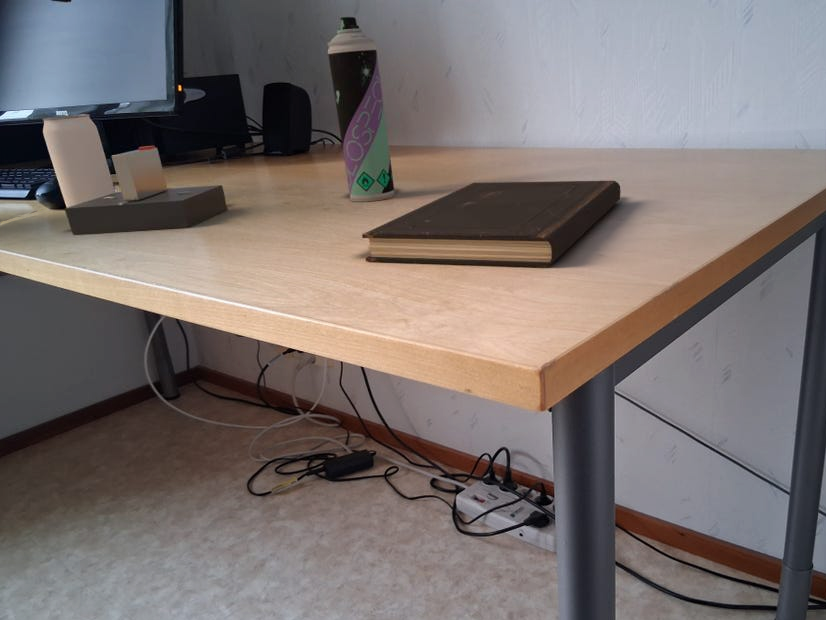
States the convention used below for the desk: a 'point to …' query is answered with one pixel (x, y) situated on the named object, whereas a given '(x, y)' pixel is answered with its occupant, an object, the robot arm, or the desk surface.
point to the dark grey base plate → (147, 211)
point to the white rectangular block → (139, 173)
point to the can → (77, 158)
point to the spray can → (360, 113)
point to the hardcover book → (495, 224)
